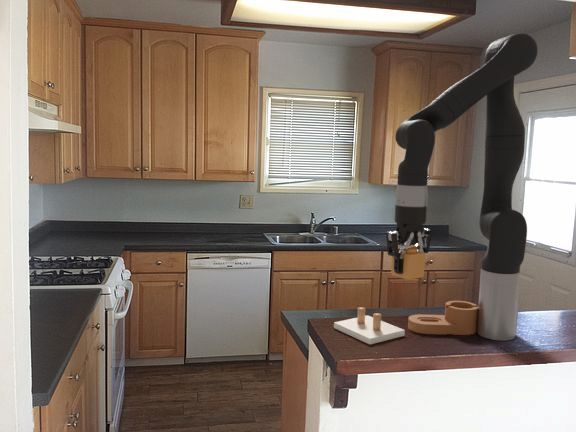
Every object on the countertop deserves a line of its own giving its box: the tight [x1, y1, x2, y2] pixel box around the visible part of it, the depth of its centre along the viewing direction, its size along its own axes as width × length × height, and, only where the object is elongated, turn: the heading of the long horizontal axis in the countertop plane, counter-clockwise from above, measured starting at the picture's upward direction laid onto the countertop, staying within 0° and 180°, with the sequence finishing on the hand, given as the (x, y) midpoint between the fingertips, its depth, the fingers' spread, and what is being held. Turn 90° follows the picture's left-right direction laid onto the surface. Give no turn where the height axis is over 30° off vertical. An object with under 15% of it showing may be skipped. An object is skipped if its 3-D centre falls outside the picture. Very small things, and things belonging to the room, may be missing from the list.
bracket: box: [407, 300, 478, 336], centre depth 138 cm, size 18×8×7 cm, turn 88°
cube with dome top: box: [390, 246, 426, 281], centre depth 127 cm, size 6×6×7 cm
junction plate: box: [333, 306, 406, 345], centre depth 135 cm, size 12×14×6 cm
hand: (407, 271), depth 127 cm, fingers closed on cube with dome top, 5 cm apart
